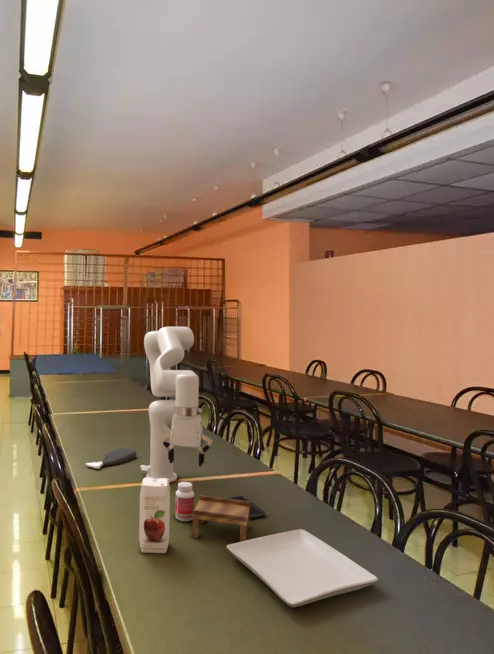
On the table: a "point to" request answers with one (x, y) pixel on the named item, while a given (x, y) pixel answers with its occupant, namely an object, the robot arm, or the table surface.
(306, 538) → the square plate
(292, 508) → the table surface
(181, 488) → the pill bottle
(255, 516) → the phone
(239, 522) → the stand
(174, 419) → the robot arm
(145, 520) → the juice carton
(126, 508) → the table surface
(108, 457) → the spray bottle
